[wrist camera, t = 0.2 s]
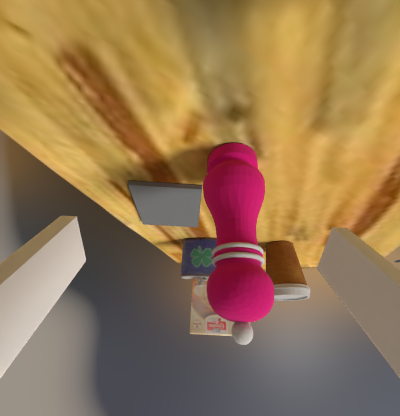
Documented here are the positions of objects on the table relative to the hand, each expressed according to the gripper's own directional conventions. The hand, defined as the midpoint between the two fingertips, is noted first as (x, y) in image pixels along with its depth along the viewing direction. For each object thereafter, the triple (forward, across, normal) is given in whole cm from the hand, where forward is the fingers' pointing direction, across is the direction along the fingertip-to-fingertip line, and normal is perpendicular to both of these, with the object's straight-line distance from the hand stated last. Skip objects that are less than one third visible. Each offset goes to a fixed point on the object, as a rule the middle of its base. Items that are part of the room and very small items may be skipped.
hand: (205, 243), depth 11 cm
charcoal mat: (+25, -5, -9) cm, 27 cm away
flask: (+33, +2, -22) cm, 40 cm away
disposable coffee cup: (+34, +21, -23) cm, 46 cm away
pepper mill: (+18, +4, +1) cm, 19 cm away
